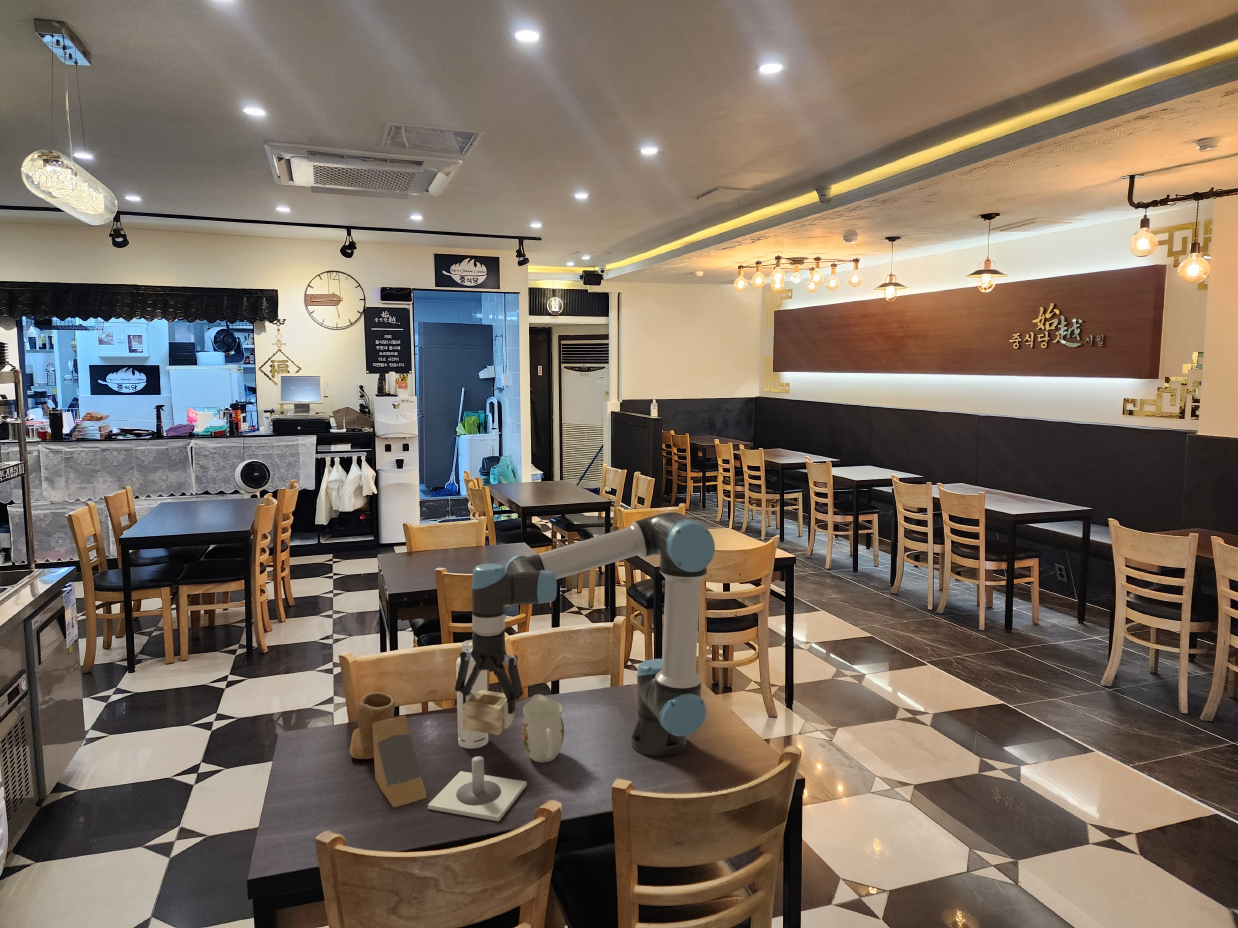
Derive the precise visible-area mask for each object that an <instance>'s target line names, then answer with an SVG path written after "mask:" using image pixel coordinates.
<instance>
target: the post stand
mask: <svg viewBox="0 0 1238 928" xmlns="http://www.w3.org/2000/svg"><path fill="white" fill-rule="evenodd" d="M484 759H485V758H484V757H483V756H474V757H473V758H471V772H469V771H459V772H458V773H457V774H456V775H455V776H454V777H453V778H452V779H451V780H450V781H449V783H447V784H446V786H444V787H443V789H442V790H441V791H440V792H438V793H437V795H436V796H435V797H434V798H433V799H432V800H431V801H430V802H429V803H428V804H427V809H428V810H432V811H437V812H444V813H448V814H449V813H450V814H455V815H459V816H467V817H472V818H477V819H483V820H488V821H493V822H494V821H495V822H500V821H501V819H502V818H503V817H504V816H505V814H506V812H508V810H509V809H510V808H511V806H512V805H513V804H514V803H515V801H516V800H517V799H518V798H519V796H520V795H521V794H522V793H523V791H524V790H525V788H526V787H527V786H528V783H527V782H528V781H526V780H525V781H524V780H520V779H519V780H518V779H514V778H513V779H512V778H506V777H501V776H495V775H494V776H493V775H487V774H485V760H484Z"/></svg>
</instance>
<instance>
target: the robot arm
mask: <svg viewBox="0 0 1238 928" xmlns="http://www.w3.org/2000/svg"><path fill="white" fill-rule="evenodd" d="M715 549H716V544H715V540H714V537H713V536H712V533H711V532H710V531H709V529H708V528H707V527H706V526H705V525H704V524H703V523H701V522H700V521H697V520H695V519H692V518H690V517H688V516H686V515H684V514H682V513H680V512H679V513H678V512H673V511H671V512H669V511H668V512H664V513H663V512H661V513H659V514H656V515H655V514H654V515H652V516H649V517H645V518H642V519H638V520H634V521H632V522H631V524H630V526H629V527H624V528H621V529H618V530H614V531H611V532H608V533H604V534H601V535H598V536H594V537H590V538H588V539H585V540H581V541H577V542H574V543H570V544H567V545H564V546H561V547H557V548H555V549H551V550H548V551H547V550H546V551H544V552H541V553H537V554H532V555H530V556H526V555H515V556H513V557H511V558H510V559H509V560H508V562H507V563H506V565H505V566H504V565H502V564H500V563H482V564H479V565H476V566H474V568H473V570H472V579H471V583H472V584H471V607H472V610H471V611H472V614H471V617H472V621H471V624H472V625H471V626H472V627H471V630H472V631H473V632H472V634H471V636H472V637H471V638H472V639H471V640H472V642H471V643H472V644H471V646H473V648H472V651H469V650H468V649H469V648H468V649H465V650H464V651H463V652H462V651H461V652H459V657H460V660H461V663H460V668H459V672H458V677H456V683H455V687H454V690H455V692H456V693H457V692H458V691H459V692H461V693H462V694H463V704H464V703H465V702H466V701H468V700H469V699H470V698H471V697H472V696H474V692H470V691H471V690H472V687H473V685H474V683H475V681H476V679H477V677H478V675H479V673H480V671H481V670H487V671H489V672H493V674H494V676H496V679H497V680H498V683H499V685H500V688H501V689H502V693H504V694H505V696H506V698H507V699H506V700H505V701H504V728H505V730H506V729H508V728H509V727H510V726H511V725H512V722H513V721H512V714H513V712H514V713H515V711H516V701H518V700H519V699H520V698H521V697H522V696H523V695H524V692H523V691H524V690H523V687H522V681H521V678H520V672H519V668H518V661H519V660H518V659H519V658H518V656H517V654H513V656H512V655H508V654H507V653H506V650H505V648H506V647H505V646H506V631H505V630H506V629H505V628H506V622H505V621H506V617H505V616H506V614H505V613H506V606H515V605H516V606H517V605H532V604H533V605H534V604H535V605H536V604H537V605H538V604H540V605H541V604H545V603H551V602H554V601H555V600H556V597H557V592H558V590H557V588H558V584H557V580H558V579H562V578H565V577H569V576H573V575H575V574H578V573H581V572H585V571H589V570H591V569H592V570H593V569H596V568H598V567H599V568H600V567H603V566H606V565H608V564H609V565H610V564H612V563H616V562H619V561H622V560H623V561H624V560H625V559H629V558H633V557H635V556H639V557H641V558H646V557H649V556H654V555H657V556H659V559H660V560H659V573H660V574H661V575H662V576H663V577H664V579H665V582H664V583H665V584H664V606H663V610H664V611H663V631H662V632H663V633H662V634H663V635H662V654H661V655H662V656H661V658H652V659H647V660H644V661H642V662H640V663H639V664H638V666H637V673H636V678H637V679H636V680H637V681H636V683H637V687H636V688H637V694H636V695H637V696H636V697H637V699H636V702H637V711H636V712H637V715H636V719H635V722H634V723H633V724H634V725H633V727H632V731H631V734H630V745H631V747H632V748H633V749H634V751H636V752H638V753H639V754H643V755H645V756H651V757H669V756H674V755H678V754H680V753H682V752H683V751H684V750H685V749H686V747H687V736H690V735H692V734H694V733H695V732H697V730H698V729H699V728H701V727H702V726H703V724H704V723H705V721H706V719H707V715H708V714H707V713H708V710H707V705H706V702H705V701H704V698H702V694H701V693H702V677H701V676H700V675H699V674H698V673H697V670H696V669H697V667H696V666H697V652H698V651H697V649H698V631H699V611H700V610H699V608H700V607H699V606H700V588H701V580H703V579H704V578H705V576H706V575H707V571H708V570H707V569H708V566H709V564H710V563H711V562H712V560H713V558H714V556H715V552H716V551H715ZM471 656H472V658H473V659H474V661H475V662H476V664H475V666H474V668H473V671H472V673H471V675H470V677H469V679H468V681H467V683H466V685H465V680H466V676H467V671H468V667H469V662H470V659H471ZM504 662H505V663H506V666H508V667H507V671H508V674H507V672H506V667H505V665H504ZM508 675H509V676H508Z"/></svg>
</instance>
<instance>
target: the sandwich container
mask: <svg viewBox="0 0 1238 928" xmlns="http://www.w3.org/2000/svg"><path fill="white" fill-rule="evenodd" d="M407 719H408V718H407V715H401V716H397V717H393V718H391V719H387V720H383V721H379V722H374V723H373V724H372V726H373V745H374V758H373V760H374V761H373V762H374V778H375V779H374V780H375V781H376V784H377V786H378V788H379V789H380V791H381V792H382V793H383V795H384V796H385V798H386V800H387V801H388V802H389V804H390V805H391V806H392V807H393V808H396V807H400V806H404V805H407V804H410V803H414V802H418V801H420V800H424V799H426V798H428V796H427V792H426V789H425V785H424V781H423V779H422V774H421V771H420V767H419V763H418V758H417V756H416V752H415V748H414V744H413V741H412V737H411V733H410V728H409V723H408V721H407Z"/></svg>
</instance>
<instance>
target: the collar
mask: <svg viewBox="0 0 1238 928" xmlns="http://www.w3.org/2000/svg"><path fill="white" fill-rule="evenodd" d="M506 699H507V698H506V696H505V694H504V692H498V691H497V692H496V691H490V690H487V691H484V690H479V691H478V692H477V693H476V694H475V695H474V696H472V697H471V698H470V699H469V700H468V701H466V702H465V703H464V704H463V730H470V731H476V732H482V733H488V735H496V736H499V735H500V734H501V733H502V732H503V731H504V730H506V728H504V701H505V700H506ZM514 720H515V711H514V712H513V714H512V722H513V721H514Z"/></svg>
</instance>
